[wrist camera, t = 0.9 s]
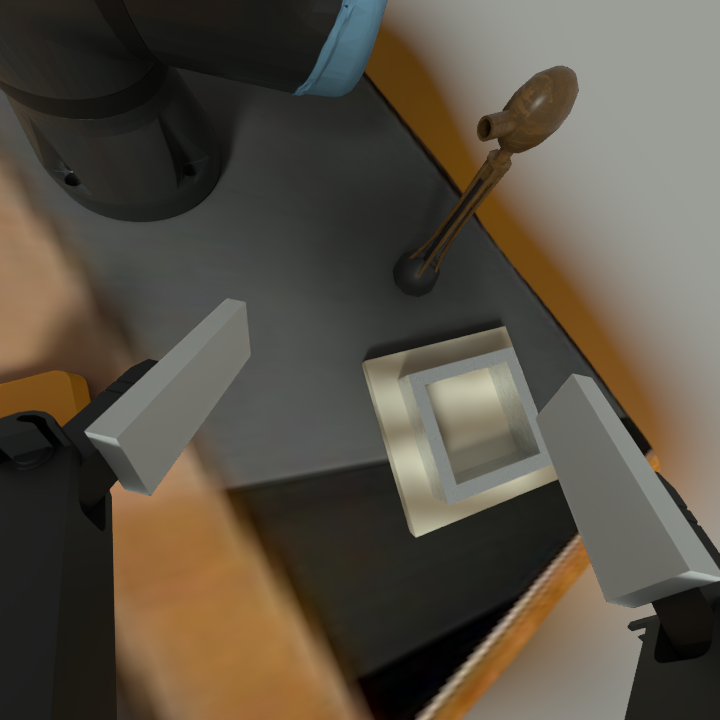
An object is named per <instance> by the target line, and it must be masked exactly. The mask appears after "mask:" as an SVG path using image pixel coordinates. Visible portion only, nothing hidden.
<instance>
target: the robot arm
mask: <svg viewBox="0 0 720 720" xmlns="http://www.w3.org/2000/svg"><path fill="white" fill-rule="evenodd" d="M386 3H387V0H0V88H1V90H2V91H3V92H4V93H5V94H6V96H7V98H8V100H9V102H10V104H11V106H12V108H13V110H14V112H15V114H16V116H17V118H18V120H19V122H20V124H21V126H22V128H23V130H24V132H25V134H26V136H27V138H28V140H29V141H30V143H31V145H32V147H33V149H34V151H35V153H36V155H37V157H38V159H39V161H40V163H41V164H42V166H43V167H44V168H45V170H46V171H47V172H48V174H49V175H50V176H51V177H52V178H53V179H54V180H55V181H56V182H57V183H58V184H59V185H60V186H61V187H62V188H63V189H64V190H65V191H66V192H67V193H68V194H69V195H70V196H71V197H72V198H73V199H74V200H75V201H77V202H78V203H79V204H81V205H82V206H84V207H85V208H87V209H89V210H91V211H93V212H95V213H98V214H100V215H103V216H106V217H109V218H113V219H117V220H123V221H131V222H149V221H157V220H163V219H167V218H171V217H174V216H177V215H179V214H182V213H184V212H186V211H188V210H189V209H191V208H193V207H194V206H196V205H197V204H198V203H200V202H201V201H202V200H203V199H204V198H205V197H206V196H207V195H208V194H209V193H210V191H211V190H212V189H213V187H214V185H215V183H216V181H217V179H218V176H219V173H220V168H221V155H220V150H219V146H218V143H217V140H216V136H215V133H214V130H213V127H212V125H211V122H210V120H209V118H208V116H207V115H206V113H205V111H204V110H203V108H202V107H201V105H200V104H199V102H198V101H197V99H196V98H195V96H194V95H193V94H192V92H191V91H190V89H189V88H188V86H187V85H186V83H185V82H184V80H183V79H182V77H181V76H180V74H179V73H178V71H177V70H176V68H175V67H177V68H182V69H186V70H191V71H195V72H199V73H204V74H208V75H213V76H217V77H222V78H226V79H231V80H235V81H240V82H244V83H249V84H253V85H258V86H262V87H266V88H271V89H275V90H280V91H284V92H289V93H290V94H291V95H294V96H295V95H297V96H301V95H303V94H310V95H318V96H325V97H333V98H335V97H340V96H343V95H345V94H347V93H349V92H350V91H351V90H352V89H353V88H354V87H355V86H356V84H357V83H358V81H359V80H360V78H361V76H362V74H363V72H364V70H365V68H366V65H367V63H368V60H369V58H370V55H371V52H372V50H373V47H374V44H375V41H376V38H377V35H378V31H379V27H380V24H381V21H382V17H383V14H384V10H385V7H386ZM250 356H251V352H250V342H249V332H248V322H247V312H246V302H242V301H238V300H233V299H229V298H227V299H225V300H224V301H223V302H222V303H221V304H220V305H219V306H218V307H217V308H216V309H215V310H214V311H213V312H212V313H210V314H209V315H208V316H207V317H206V318H205V319H204V320H203V321H202V322H201V323H200V324H199V325H198V326H197V327H195V328H194V329H193V330H192V331H191V332H190V333H189V334H188V335H187V336H186V337H185V338H184V339H183V340H181V341H180V342H179V343H178V344H177V345H176V346H175V347H174V348H173V349H172V350H171V351H170V352H169V353H168V354H166V355H165V356H164V357H163V358H162V359H161V360H160V361H155V360H151V359H147V360H145V361H143V362H141V363H139V364H137V365H135V366H133V367H131V368H130V369H129V370H127V371H126V372H125V373H124V374H123V375H122V376H120V377H119V378H118V379H117V382H114V383H112V384H111V385H110V386H109V387H108V388H107V389H106V391H105V392H104V391H103V392H102V393H101V394H100V395H98V396H97V397H96V398H95V399H94V400H93V401H91V402H90V403H89V404H88V405H87V406H86V407H85V408H83V409H82V410H81V411H80V412H79V413H78V414H76V415H75V416H74V417H73V418H72V419H71V420H69V421H68V422H67V423H66V424H65V425H64V426H62V427H61V426H60V425H59V424H58V422H57V421H56V420H55V418H54V417H53V416H52V415H50V414H48V413H47V412H44V411H36V410H31V411H24V412H18V413H15V414H11V415H8V416H5V417H2V418H0V720H117V707H116V663H115V620H114V576H113V532H112V496H111V493H110V488H111V487H112V486H113V485H114V484H115V482H116V481H117V480H119V482H120V483H121V485H122V486H123V488H124V489H125V490H128V491H132V492H137V493H141V494H145V495H150V496H151V495H152V493H153V492H154V491H155V489H156V488H157V486H158V485H159V483H160V482H161V481H162V479H163V478H164V476H165V475H166V474H167V472H168V471H169V469H170V468H171V467H172V465H173V464H174V462H175V461H176V460H177V458H178V457H179V455H180V454H181V453H182V451H183V450H184V448H185V447H186V446H187V444H188V443H189V441H190V440H191V439H192V437H193V436H194V434H195V433H196V432H197V430H198V429H199V427H200V426H201V425H202V423H203V422H204V420H205V419H206V418H207V416H208V415H209V413H210V412H211V411H212V409H213V408H214V406H215V405H216V403H217V402H218V401H219V399H220V398H221V396H222V395H223V394H224V392H225V391H226V389H227V388H228V387H229V385H230V384H231V382H232V381H233V380H234V378H235V377H236V375H237V374H238V373H239V371H240V370H241V368H242V367H243V366H244V364H245V363H246V361H247V360H248V359H249V357H250ZM535 419H536V422H537V424H538V427H539V430H540V432H541V435H542V437H543V440H544V443H545V445H546V448H547V450H548V453H549V455H550V458H551V461H552V463H553V466H554V468H555V471H556V474H557V476H558V479H559V481H560V484H561V486H562V489H563V492H564V494H565V497H566V499H567V502H568V505H569V507H570V510H571V512H572V515H573V517H574V520H575V523H576V525H577V528H578V530H579V533H580V536H581V538H582V541H583V543H584V546H585V548H586V551H587V554H588V556H589V559H590V561H591V564H592V567H593V569H594V572H595V574H596V577H597V579H598V582H599V584H600V587H601V590H602V592H603V595H604V598H605V600H606V602H609V603H613V604H617V605H622V606H626V607H630V608H636V607H639V606H642V605H645V604H648V603H652V605H653V607H654V609H655V611H656V613H657V615H653V616H650V617H646V618H643V619H639V620H636V621H632V622H630V624H629V625H628V628H629V629H630V630H631V631H634V630H638V629H641V628H646V631H645V634H643V635H640V636H638V638H639V639H641V640H642V641H643V644H642V648H641V653H640V657H639V661H638V665H637V669H636V673H635V677H634V682H633V686H632V690H631V695H630V698H629V703H628V707H627V711H626V715H625V720H720V553H719V552H718V550H717V549H716V548H715V546H714V545H713V543H712V542H711V540H710V539H709V537H708V536H707V534H706V533H705V532H704V530H703V529H702V527H701V526H699V525H697V520H696V519H695V517H694V516H693V514H692V513H691V511H689V510H687V506H686V504H685V503H684V501H683V500H682V498H681V497H680V495H679V494H678V493H677V491H676V490H675V489H674V488H673V487H672V486H671V485H670V484H669V483H668V482H667V481H666V480H665V479H664V478H663V477H662V476H661V475H660V474H659V473H658V472H655V471H653V469H652V468H651V466H650V465H649V463H648V462H647V460H646V459H645V457H644V456H643V454H642V453H641V451H640V450H639V448H638V447H637V445H636V444H635V442H634V441H633V439H632V438H631V436H630V435H629V433H628V432H627V430H626V429H625V427H624V426H623V424H622V423H621V421H620V420H619V418H618V417H617V415H616V414H615V412H614V411H613V409H612V408H611V406H610V405H609V403H608V402H607V400H606V399H605V397H604V396H603V394H602V393H601V391H600V390H599V388H598V387H597V385H596V384H595V382H594V381H593V379H592V378H590V377H585V376H581V375H576V374H572V375H571V376H570V377H569V378H568V379H567V381H566V382H565V383H564V384H563V385H562V387H561V388H560V389H559V390H558V391H557V393H556V394H555V395H554V396H553V398H552V399H551V400H550V401H549V402H548V404H547V405H546V406H545V407H544V408H543V410H542V411H541V412H540V413H539V415H538V416H537V417H536V418H535Z"/></svg>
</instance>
